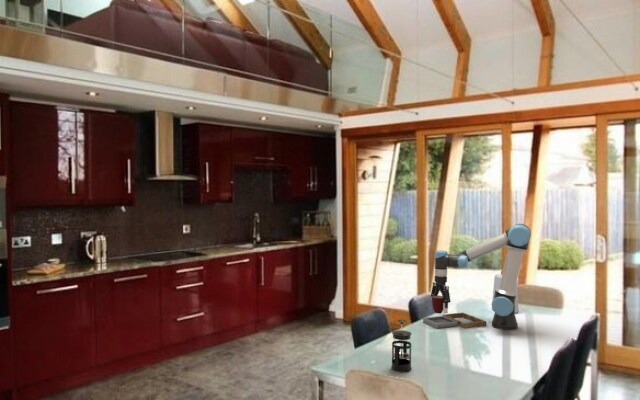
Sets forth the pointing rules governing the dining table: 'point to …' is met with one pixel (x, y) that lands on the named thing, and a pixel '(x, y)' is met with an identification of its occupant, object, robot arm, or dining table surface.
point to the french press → (401, 357)
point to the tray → (440, 322)
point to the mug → (437, 304)
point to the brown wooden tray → (475, 323)
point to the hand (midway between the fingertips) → (440, 311)
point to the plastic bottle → (496, 285)
